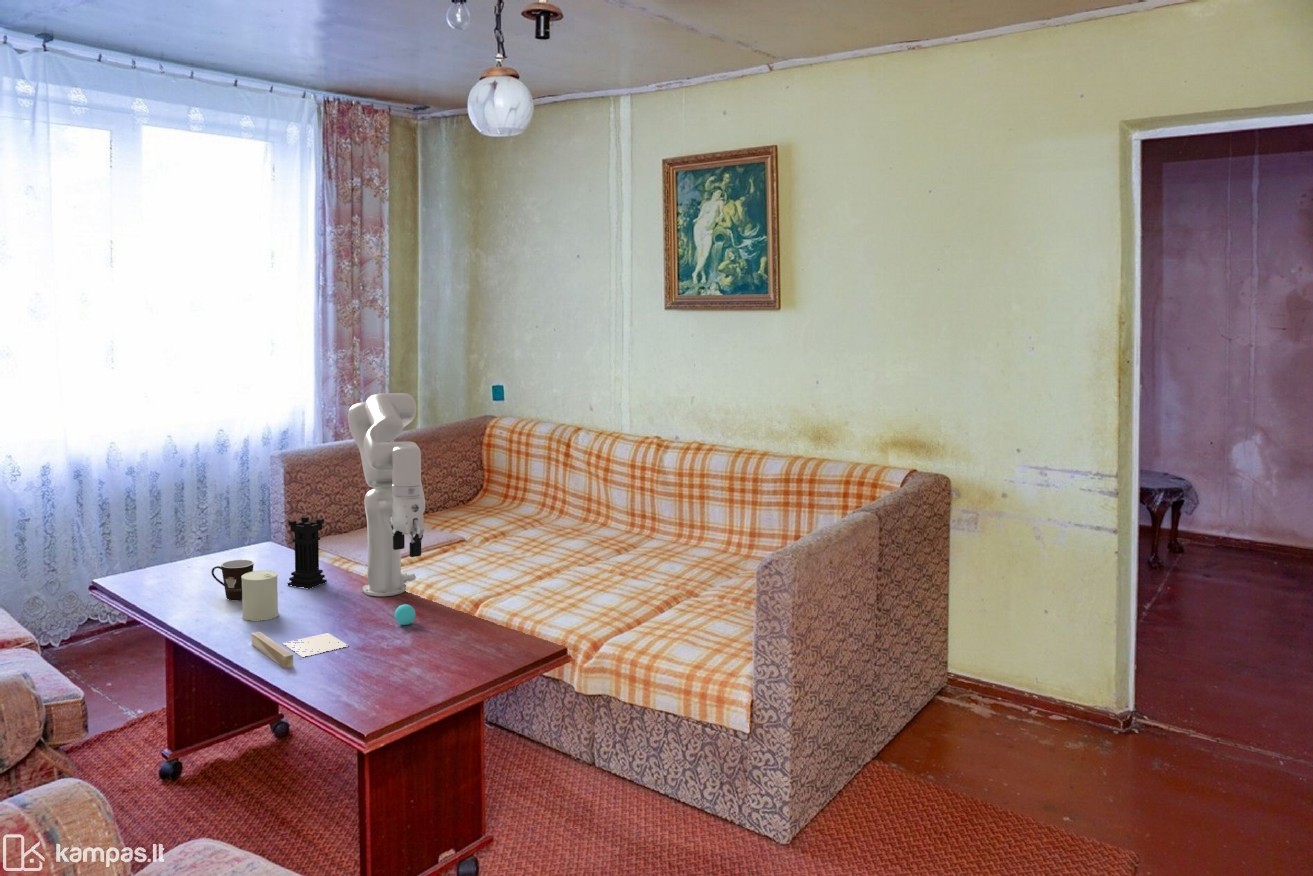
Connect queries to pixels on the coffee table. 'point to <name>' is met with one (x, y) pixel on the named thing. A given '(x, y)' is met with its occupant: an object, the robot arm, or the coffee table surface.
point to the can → (259, 595)
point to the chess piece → (306, 553)
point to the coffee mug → (234, 577)
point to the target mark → (315, 644)
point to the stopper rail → (272, 650)
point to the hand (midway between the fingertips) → (407, 552)
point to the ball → (404, 614)
